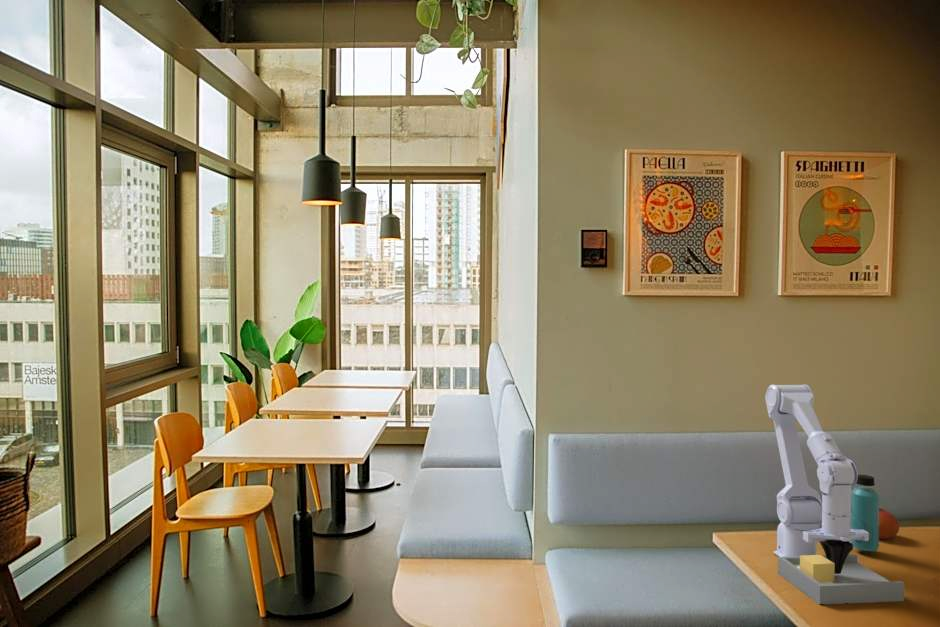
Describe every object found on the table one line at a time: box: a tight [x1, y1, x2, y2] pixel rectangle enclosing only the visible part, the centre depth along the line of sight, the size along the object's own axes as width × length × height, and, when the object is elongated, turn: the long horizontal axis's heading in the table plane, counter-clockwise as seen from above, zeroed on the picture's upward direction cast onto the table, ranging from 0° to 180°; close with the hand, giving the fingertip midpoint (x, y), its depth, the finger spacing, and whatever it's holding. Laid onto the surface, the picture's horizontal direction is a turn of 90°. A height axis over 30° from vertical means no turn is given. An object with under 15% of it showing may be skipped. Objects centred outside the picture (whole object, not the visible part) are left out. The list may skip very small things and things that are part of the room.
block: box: [800, 554, 835, 582], centre depth 148 cm, size 5×5×4 cm
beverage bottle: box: [850, 474, 880, 552], centre depth 169 cm, size 6×7×20 cm
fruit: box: [879, 507, 900, 540], centre depth 180 cm, size 9×9×8 cm
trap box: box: [777, 553, 905, 605], centre depth 149 cm, size 16×19×4 cm
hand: (835, 571), depth 149 cm, fingers closed
